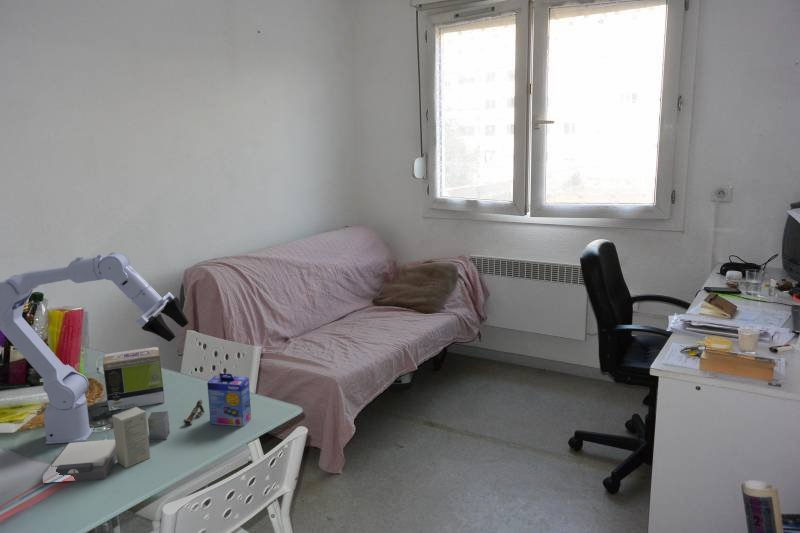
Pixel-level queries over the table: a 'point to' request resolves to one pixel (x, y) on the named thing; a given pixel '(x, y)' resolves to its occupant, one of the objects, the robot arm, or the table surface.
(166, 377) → the table surface
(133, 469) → the table surface
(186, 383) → the table surface
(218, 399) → the ink cartridge box
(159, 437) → the block
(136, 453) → the skincare box
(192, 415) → the wooden post with brackets
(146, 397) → the tea box
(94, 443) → the dial scale
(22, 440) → the table surface
